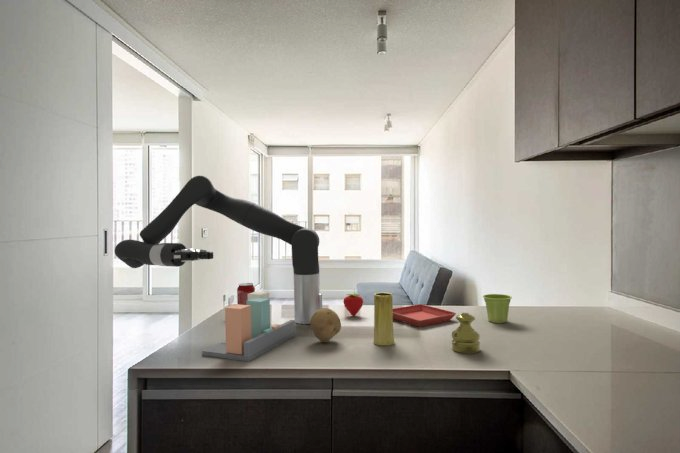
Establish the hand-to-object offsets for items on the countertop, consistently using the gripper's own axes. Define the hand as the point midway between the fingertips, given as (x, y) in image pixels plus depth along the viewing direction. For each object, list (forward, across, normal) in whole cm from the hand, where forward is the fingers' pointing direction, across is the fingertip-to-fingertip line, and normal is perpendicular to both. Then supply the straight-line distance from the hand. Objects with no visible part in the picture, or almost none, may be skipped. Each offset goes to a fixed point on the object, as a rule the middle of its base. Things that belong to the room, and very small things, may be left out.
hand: (211, 255), depth 123 cm
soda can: (-11, +32, +26) cm, 43 cm away
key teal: (+16, 0, +25) cm, 30 cm away
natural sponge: (+34, +10, +26) cm, 44 cm away
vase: (+50, +14, +26) cm, 58 cm away
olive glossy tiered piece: (+73, +15, +26) cm, 79 cm away
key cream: (+10, +10, +25) cm, 28 cm away
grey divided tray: (+14, 0, +26) cm, 30 cm away
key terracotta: (+16, -10, +25) cm, 31 cm away
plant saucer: (+55, +45, +27) cm, 75 cm away
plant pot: (+80, +50, +26) cm, 98 cm away
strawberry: (+30, +43, +26) cm, 58 cm away
